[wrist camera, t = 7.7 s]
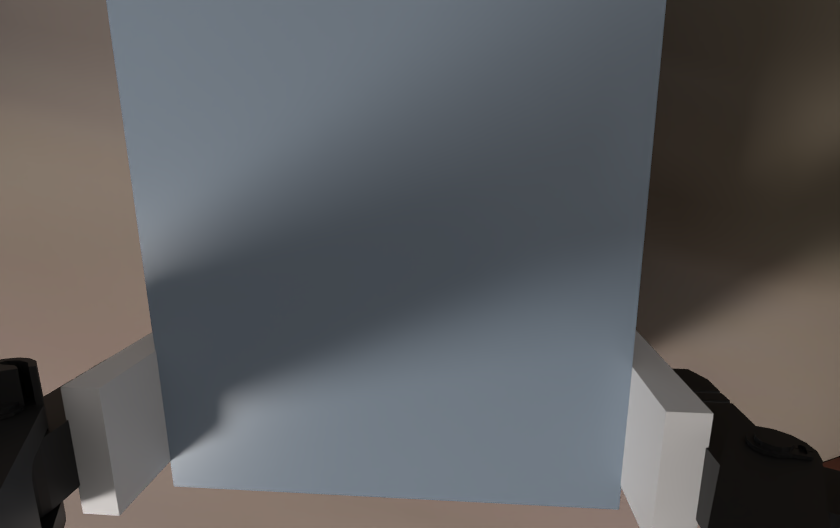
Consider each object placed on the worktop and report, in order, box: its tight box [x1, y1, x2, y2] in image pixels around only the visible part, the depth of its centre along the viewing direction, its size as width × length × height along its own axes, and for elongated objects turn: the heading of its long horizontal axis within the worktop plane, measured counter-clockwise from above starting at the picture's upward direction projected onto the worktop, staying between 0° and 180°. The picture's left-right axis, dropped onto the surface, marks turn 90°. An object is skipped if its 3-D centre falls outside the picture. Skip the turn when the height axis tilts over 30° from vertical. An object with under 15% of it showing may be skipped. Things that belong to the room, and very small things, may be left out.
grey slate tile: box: [106, 0, 666, 510], centre depth 12 cm, size 10×18×5 cm, turn 1°
